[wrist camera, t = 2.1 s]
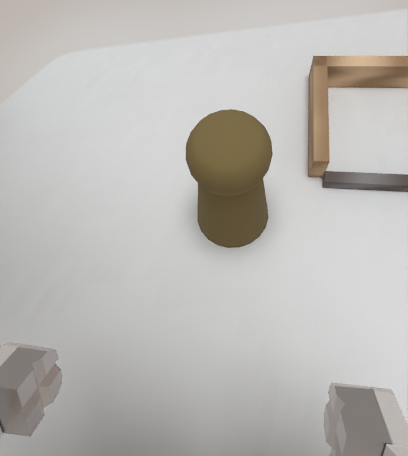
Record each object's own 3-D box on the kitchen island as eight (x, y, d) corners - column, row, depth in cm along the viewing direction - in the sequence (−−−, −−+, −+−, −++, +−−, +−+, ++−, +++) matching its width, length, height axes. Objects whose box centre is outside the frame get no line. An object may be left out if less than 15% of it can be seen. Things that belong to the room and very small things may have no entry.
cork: (202, 180, 31) (183, 90, 21) (270, 185, 30) (285, 95, 20) (192, 243, 29) (165, 178, 19) (265, 251, 28) (278, 187, 18)
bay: (308, 186, 30) (313, 171, 27) (308, 77, 34) (313, 56, 32) (492, 195, 28) (515, 180, 25) (468, 78, 32) (485, 55, 30)
